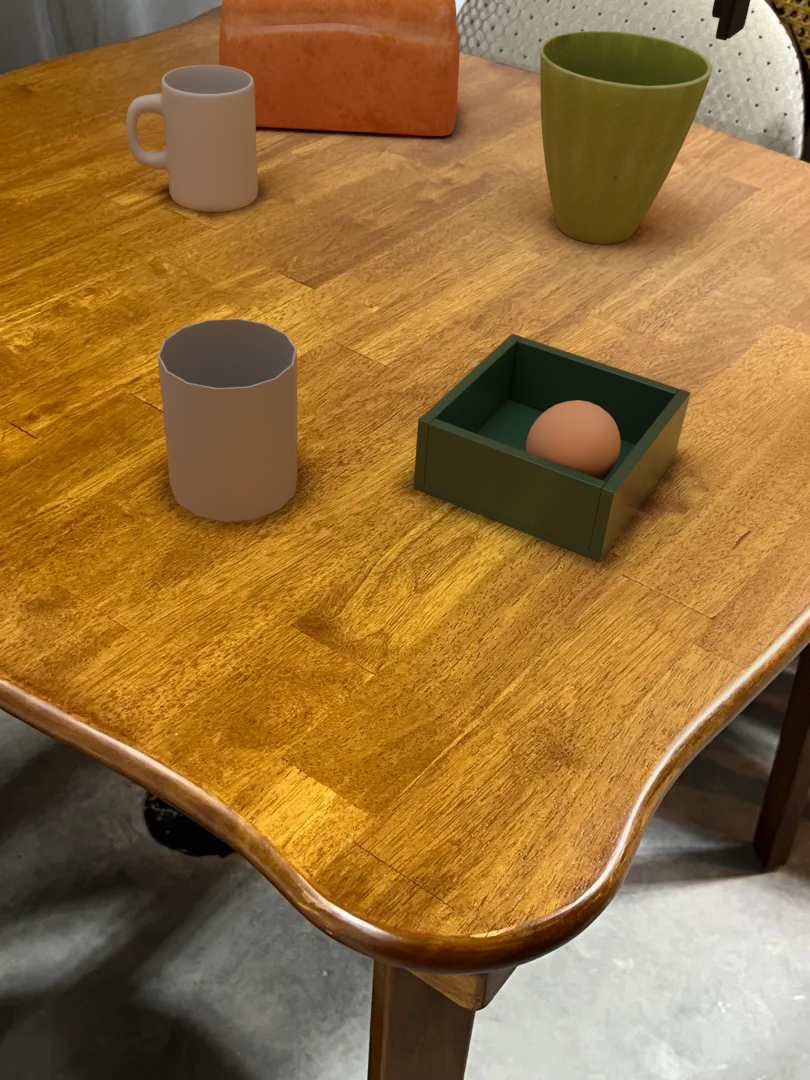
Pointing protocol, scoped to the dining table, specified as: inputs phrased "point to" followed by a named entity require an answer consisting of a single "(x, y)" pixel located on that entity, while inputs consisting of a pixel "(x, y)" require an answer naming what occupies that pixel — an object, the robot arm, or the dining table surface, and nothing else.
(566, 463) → the egg
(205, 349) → the cup
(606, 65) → the flower pot
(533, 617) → the dining table surface
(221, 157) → the mug
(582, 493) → the dark green open crate
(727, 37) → the robot arm
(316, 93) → the bread
